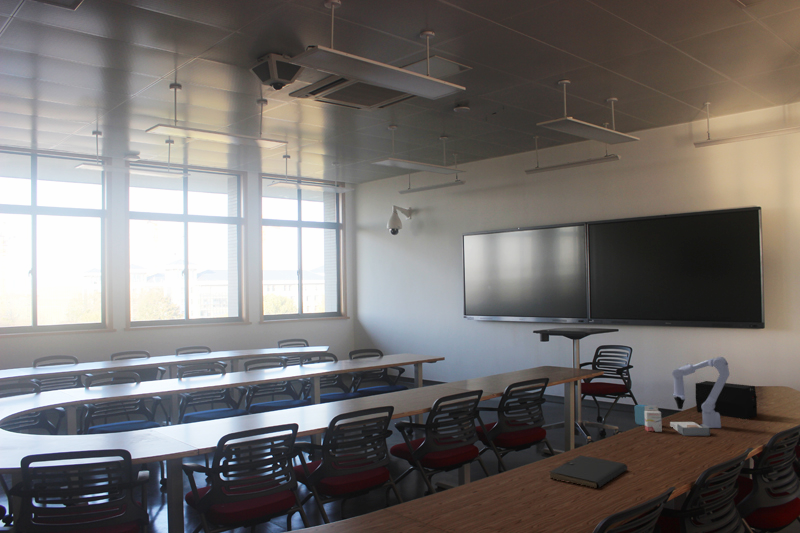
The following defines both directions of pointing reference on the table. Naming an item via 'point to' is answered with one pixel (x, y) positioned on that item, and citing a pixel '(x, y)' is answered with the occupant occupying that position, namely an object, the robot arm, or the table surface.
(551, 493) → the table surface
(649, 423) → the ink cartridge box
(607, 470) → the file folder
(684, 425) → the ledge board
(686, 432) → the bin
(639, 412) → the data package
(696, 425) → the terracotta tile
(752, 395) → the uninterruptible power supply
